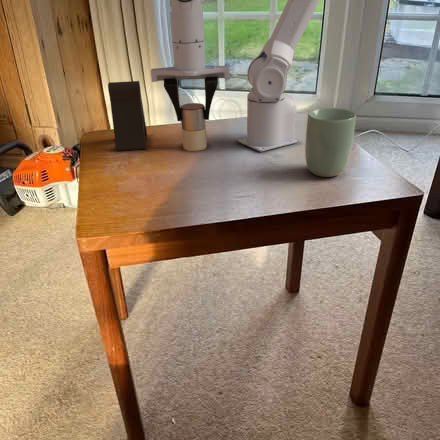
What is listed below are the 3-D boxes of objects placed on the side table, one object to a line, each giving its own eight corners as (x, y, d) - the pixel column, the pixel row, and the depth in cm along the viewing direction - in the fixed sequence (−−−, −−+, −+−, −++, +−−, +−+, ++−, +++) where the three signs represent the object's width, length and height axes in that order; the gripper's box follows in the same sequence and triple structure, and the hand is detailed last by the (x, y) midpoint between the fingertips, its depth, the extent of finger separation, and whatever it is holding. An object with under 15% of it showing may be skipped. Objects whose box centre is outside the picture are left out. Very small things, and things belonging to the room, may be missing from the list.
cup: (310, 183, 76) (316, 122, 70) (297, 166, 82) (301, 109, 76) (355, 179, 77) (364, 118, 71) (338, 163, 83) (345, 106, 77)
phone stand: (145, 149, 92) (137, 86, 85) (116, 151, 91) (105, 88, 84) (147, 136, 99) (140, 76, 92) (120, 137, 99) (110, 78, 92)
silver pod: (198, 122, 93) (197, 101, 90) (210, 127, 89) (209, 106, 87) (177, 126, 91) (175, 105, 88) (189, 132, 87) (187, 110, 85)
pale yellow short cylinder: (199, 141, 95) (198, 122, 93) (211, 147, 92) (210, 127, 89) (179, 146, 93) (177, 126, 91) (190, 152, 90) (189, 132, 87)
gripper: (145, 46, 78) (155, 126, 86) (229, 42, 78) (231, 123, 86) (149, 40, 83) (157, 116, 91) (227, 37, 84) (228, 113, 92)
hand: (193, 119), depth 89 cm, fingers closed on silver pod, 5 cm apart
